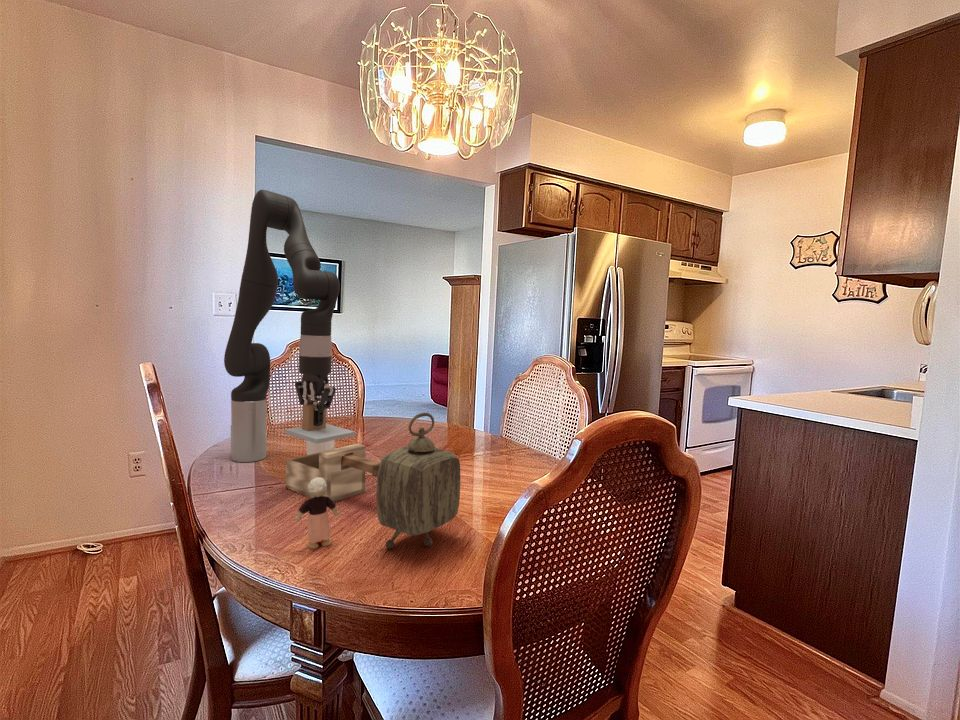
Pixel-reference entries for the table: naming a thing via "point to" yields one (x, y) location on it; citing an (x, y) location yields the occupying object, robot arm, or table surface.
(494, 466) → the table surface
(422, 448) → the tabletop clock
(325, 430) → the lid
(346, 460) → the bar
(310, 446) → the white cup
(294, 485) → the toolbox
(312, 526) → the grandmother figurine
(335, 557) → the table surface
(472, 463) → the table surface
